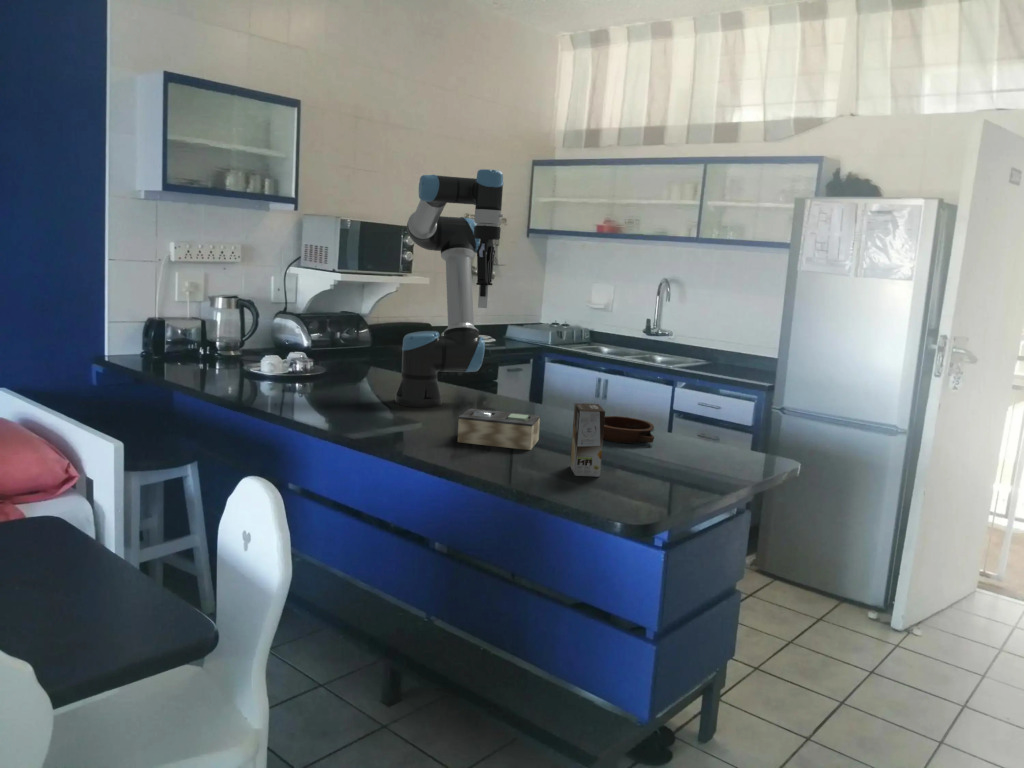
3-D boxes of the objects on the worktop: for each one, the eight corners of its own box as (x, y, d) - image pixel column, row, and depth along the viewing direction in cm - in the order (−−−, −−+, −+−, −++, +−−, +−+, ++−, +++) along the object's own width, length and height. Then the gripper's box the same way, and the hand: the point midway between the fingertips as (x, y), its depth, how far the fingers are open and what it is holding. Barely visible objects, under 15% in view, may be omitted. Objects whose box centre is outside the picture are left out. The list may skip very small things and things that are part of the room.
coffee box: (601, 477, 197) (606, 411, 194) (574, 476, 197) (579, 410, 194) (594, 466, 206) (599, 403, 203) (568, 465, 206) (573, 402, 203)
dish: (631, 451, 225) (633, 433, 224) (572, 434, 240) (573, 417, 240) (670, 443, 236) (672, 426, 235) (611, 427, 252) (613, 411, 251)
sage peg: (506, 442, 223) (507, 416, 222) (509, 438, 228) (511, 413, 227) (523, 444, 222) (525, 418, 221) (527, 440, 227) (528, 415, 226)
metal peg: (469, 438, 225) (471, 413, 224) (474, 434, 230) (475, 409, 229) (487, 440, 224) (489, 415, 223) (492, 436, 229) (493, 411, 228)
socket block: (457, 442, 222) (458, 416, 221) (469, 432, 234) (470, 408, 233) (530, 450, 218) (532, 424, 217) (538, 440, 230) (540, 415, 229)
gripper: (495, 225, 230) (490, 310, 234) (505, 226, 242) (500, 307, 246) (468, 223, 231) (464, 308, 235) (480, 225, 244) (476, 305, 248)
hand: (483, 307), depth 241 cm, fingers closed
